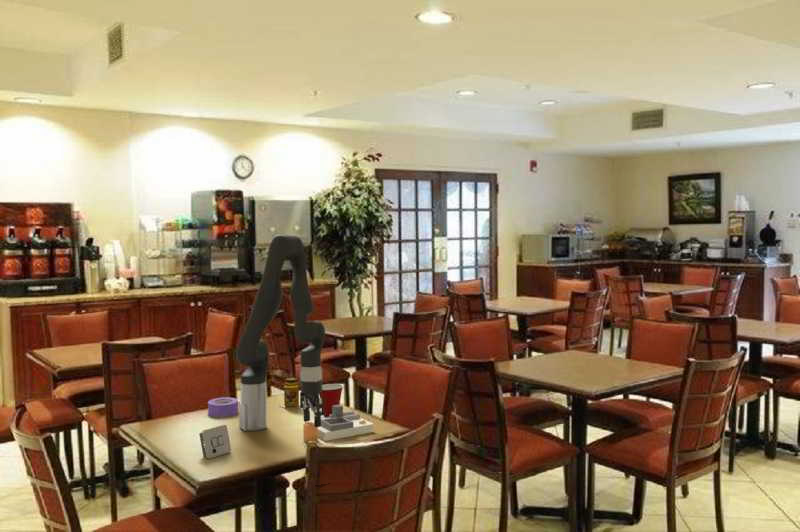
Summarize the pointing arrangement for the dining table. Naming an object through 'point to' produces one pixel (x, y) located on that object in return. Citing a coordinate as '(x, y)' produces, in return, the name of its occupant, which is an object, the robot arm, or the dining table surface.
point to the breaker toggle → (337, 411)
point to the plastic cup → (330, 396)
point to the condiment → (291, 394)
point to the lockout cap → (310, 432)
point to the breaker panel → (343, 426)
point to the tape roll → (223, 407)
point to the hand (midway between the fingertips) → (312, 424)
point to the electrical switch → (215, 441)
